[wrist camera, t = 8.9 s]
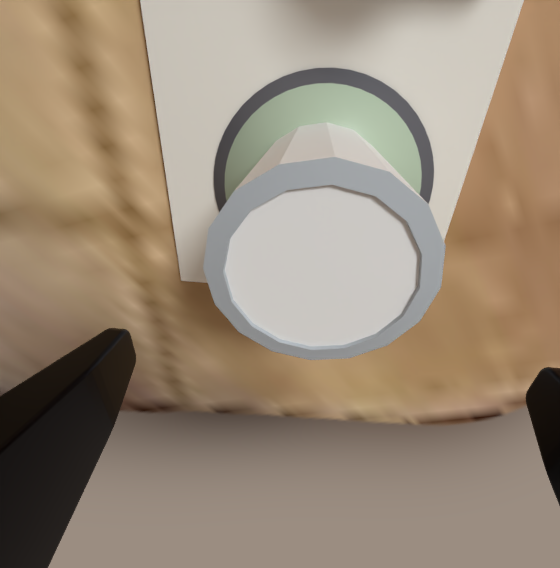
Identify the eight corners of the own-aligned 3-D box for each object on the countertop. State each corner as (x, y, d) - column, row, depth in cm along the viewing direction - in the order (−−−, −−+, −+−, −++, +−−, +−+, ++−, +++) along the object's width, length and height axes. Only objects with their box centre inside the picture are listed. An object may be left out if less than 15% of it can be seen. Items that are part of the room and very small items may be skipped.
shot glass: (382, 76, 13) (429, 113, 8) (411, 235, 17) (458, 340, 11) (216, 140, 15) (156, 208, 10) (274, 271, 19) (255, 378, 13)
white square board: (182, 277, 20) (180, 282, 20) (138, -34, 13) (133, -36, 12) (423, 296, 19) (424, 301, 19) (526, -21, 12) (532, -22, 12)
